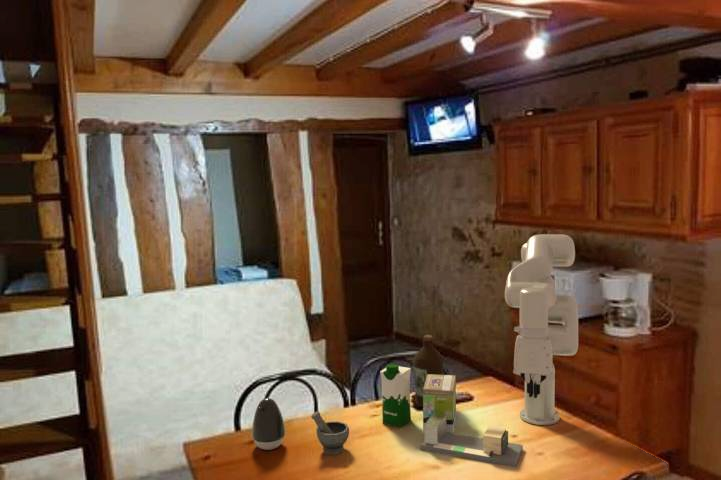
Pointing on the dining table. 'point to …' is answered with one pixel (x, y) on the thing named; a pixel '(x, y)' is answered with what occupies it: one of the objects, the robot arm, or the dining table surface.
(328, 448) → the mortar and pestle
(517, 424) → the dining table surface
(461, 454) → the base
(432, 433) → the light grey block
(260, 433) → the aroma diffuser
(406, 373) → the milk carton
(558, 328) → the robot arm
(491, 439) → the block
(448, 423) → the tea box
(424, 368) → the olive oil
